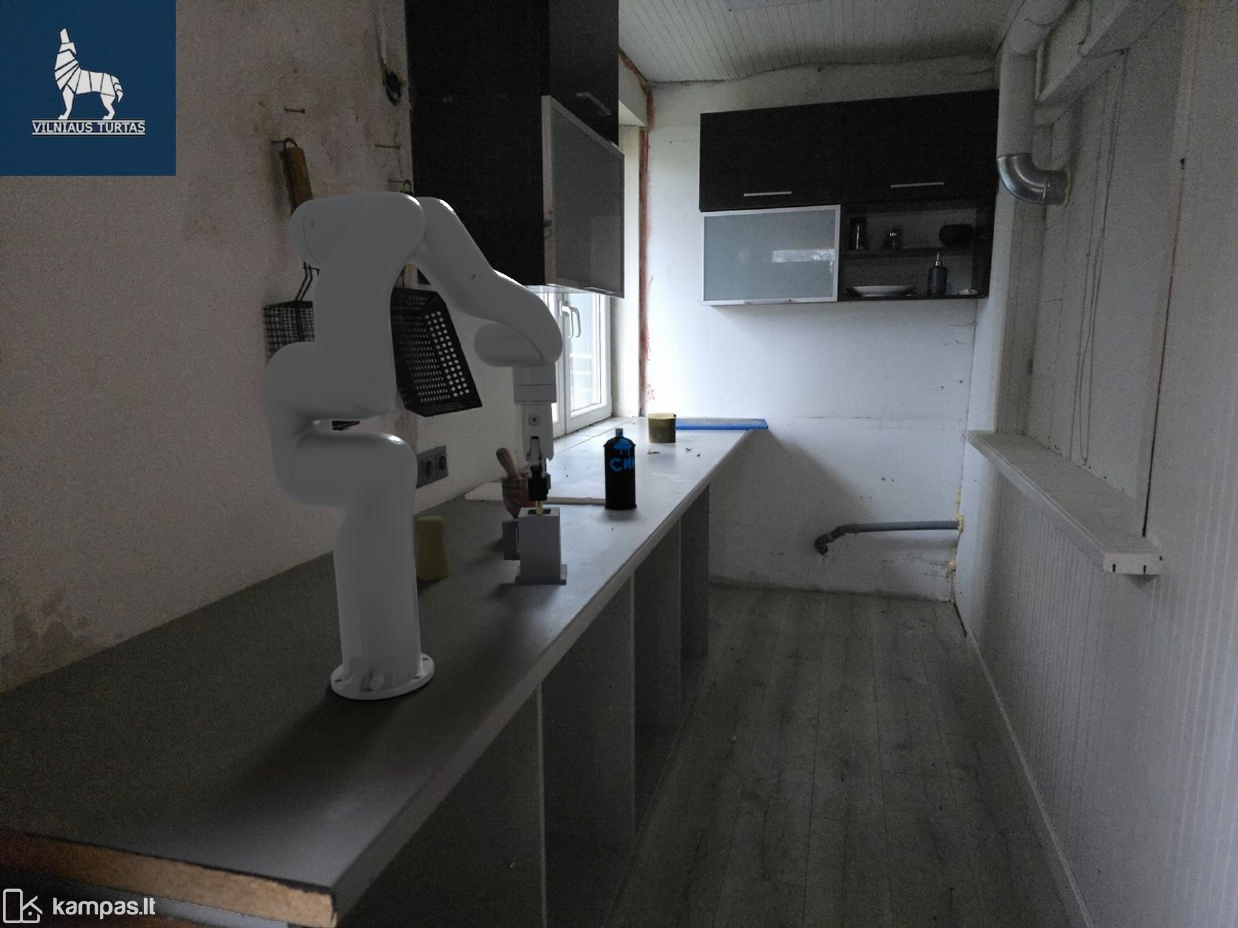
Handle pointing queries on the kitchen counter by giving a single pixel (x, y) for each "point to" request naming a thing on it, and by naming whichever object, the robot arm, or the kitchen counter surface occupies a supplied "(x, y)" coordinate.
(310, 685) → the kitchen counter surface
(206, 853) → the kitchen counter surface
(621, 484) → the aerosol can
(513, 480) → the mortar and pestle
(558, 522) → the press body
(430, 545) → the cork
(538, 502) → the plunger
